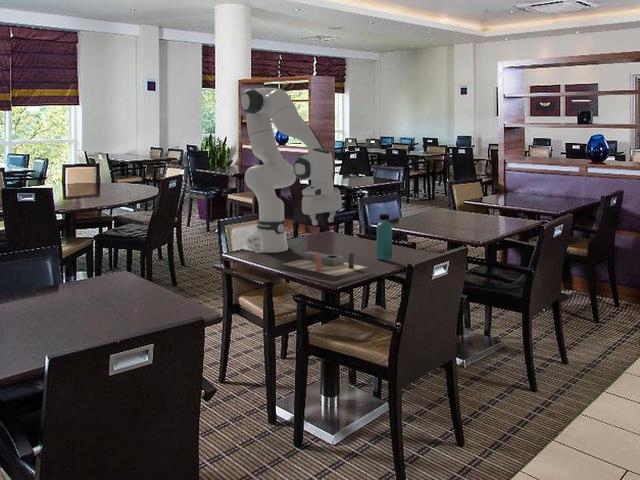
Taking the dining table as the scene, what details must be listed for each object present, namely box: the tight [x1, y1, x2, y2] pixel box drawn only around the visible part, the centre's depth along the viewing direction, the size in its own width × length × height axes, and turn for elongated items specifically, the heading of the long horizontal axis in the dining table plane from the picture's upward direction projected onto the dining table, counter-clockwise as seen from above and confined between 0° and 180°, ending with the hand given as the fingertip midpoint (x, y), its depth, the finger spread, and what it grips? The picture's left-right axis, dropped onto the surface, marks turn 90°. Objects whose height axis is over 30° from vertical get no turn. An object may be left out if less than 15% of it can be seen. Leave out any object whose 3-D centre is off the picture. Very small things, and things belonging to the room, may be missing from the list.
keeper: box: [314, 254, 322, 271], centre depth 254 cm, size 7×2×5 cm, turn 7°
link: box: [303, 250, 345, 267], centre depth 266 cm, size 18×7×3 cm, turn 47°
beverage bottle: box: [376, 213, 393, 261], centre depth 269 cm, size 6×7×20 cm
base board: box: [283, 258, 368, 277], centre depth 260 cm, size 29×19×1 cm, turn 47°
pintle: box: [348, 252, 355, 269], centre depth 255 cm, size 2×2×6 cm
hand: (322, 223), depth 263 cm, fingers open, 8 cm apart
